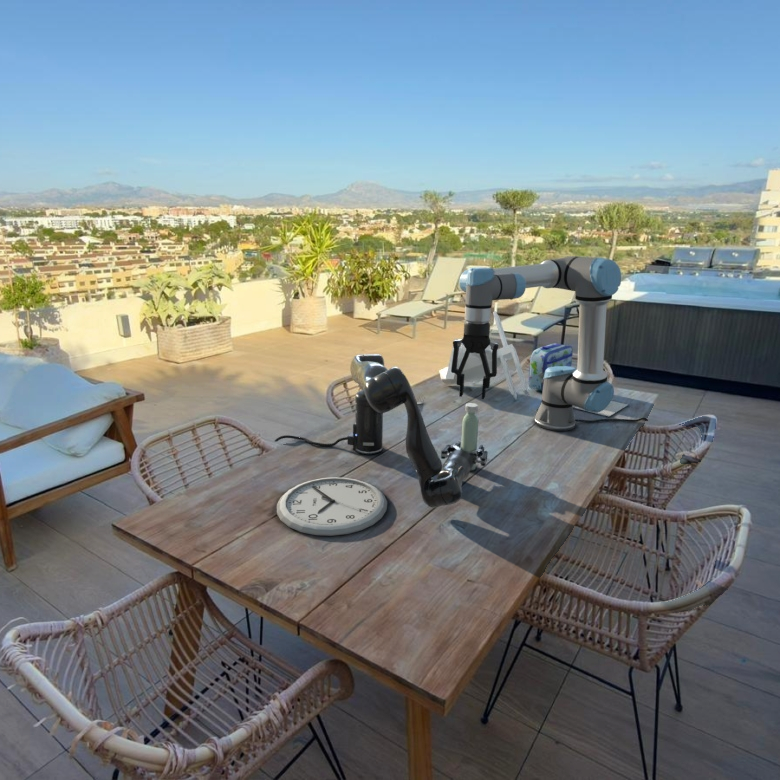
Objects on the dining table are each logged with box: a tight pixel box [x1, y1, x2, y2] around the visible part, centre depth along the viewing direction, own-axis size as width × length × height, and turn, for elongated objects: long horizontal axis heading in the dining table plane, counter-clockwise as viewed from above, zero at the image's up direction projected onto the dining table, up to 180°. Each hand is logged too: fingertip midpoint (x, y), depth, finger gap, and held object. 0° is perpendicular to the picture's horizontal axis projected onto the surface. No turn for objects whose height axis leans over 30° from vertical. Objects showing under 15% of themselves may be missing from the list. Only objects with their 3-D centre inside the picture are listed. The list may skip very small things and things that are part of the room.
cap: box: [464, 402, 479, 414], centre depth 161 cm, size 4×4×2 cm
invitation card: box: [573, 400, 629, 418], centre depth 226 cm, size 21×1×15 cm
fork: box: [417, 395, 425, 405], centre depth 222 cm, size 3×16×2 cm, turn 160°
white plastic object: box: [438, 310, 531, 400], centre depth 245 cm, size 37×45×31 cm
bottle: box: [460, 412, 480, 471], centre depth 164 cm, size 5×5×21 cm
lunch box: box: [528, 343, 574, 392], centre depth 249 cm, size 26×11×21 cm, turn 134°
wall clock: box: [276, 476, 388, 537], centre depth 142 cm, size 30×2×30 cm
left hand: (470, 446), depth 167 cm, fingers open, 6 cm apart
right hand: (472, 396), depth 160 cm, fingers open, 6 cm apart
